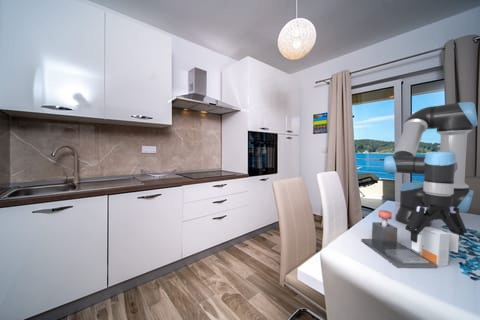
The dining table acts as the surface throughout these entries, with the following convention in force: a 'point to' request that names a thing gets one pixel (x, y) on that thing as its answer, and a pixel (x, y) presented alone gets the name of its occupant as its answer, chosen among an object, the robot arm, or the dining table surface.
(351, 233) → the dining table surface
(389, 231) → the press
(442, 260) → the skincare box
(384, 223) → the plunger
